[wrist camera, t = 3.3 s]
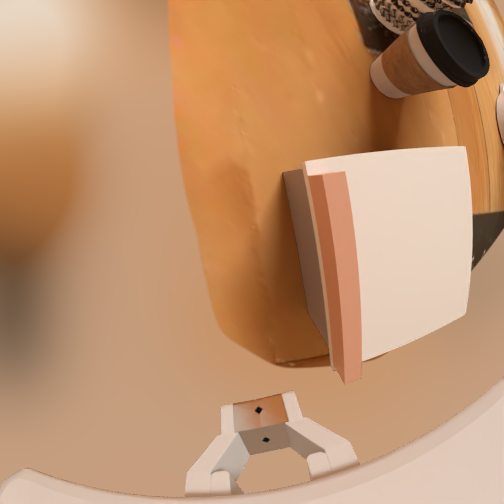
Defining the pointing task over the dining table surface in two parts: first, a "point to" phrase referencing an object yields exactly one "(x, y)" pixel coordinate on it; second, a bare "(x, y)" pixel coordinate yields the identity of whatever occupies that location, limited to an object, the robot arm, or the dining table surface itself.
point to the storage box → (306, 248)
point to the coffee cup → (431, 57)
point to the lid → (390, 247)
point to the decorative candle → (408, 11)
